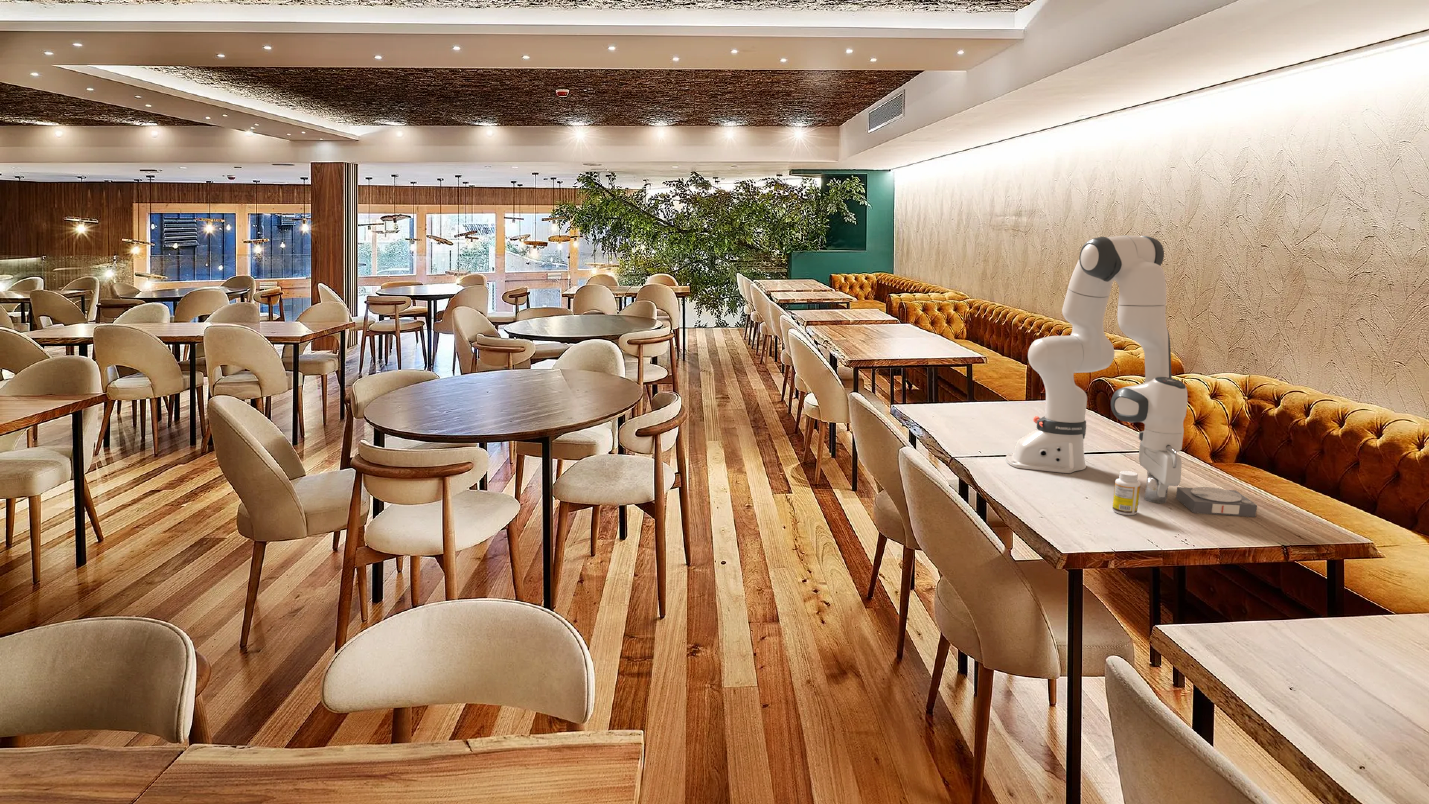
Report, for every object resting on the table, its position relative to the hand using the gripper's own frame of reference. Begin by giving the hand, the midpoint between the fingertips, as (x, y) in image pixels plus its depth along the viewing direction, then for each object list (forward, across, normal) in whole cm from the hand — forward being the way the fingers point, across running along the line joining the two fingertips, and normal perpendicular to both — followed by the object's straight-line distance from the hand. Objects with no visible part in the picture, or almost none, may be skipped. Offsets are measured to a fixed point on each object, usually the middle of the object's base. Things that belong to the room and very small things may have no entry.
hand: (1156, 492), depth 211 cm
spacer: (+2, 0, 0) cm, 2 cm away
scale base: (+2, -3, -13) cm, 14 cm away
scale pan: (-1, -3, -13) cm, 13 cm away
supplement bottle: (+2, -12, +11) cm, 16 cm away
